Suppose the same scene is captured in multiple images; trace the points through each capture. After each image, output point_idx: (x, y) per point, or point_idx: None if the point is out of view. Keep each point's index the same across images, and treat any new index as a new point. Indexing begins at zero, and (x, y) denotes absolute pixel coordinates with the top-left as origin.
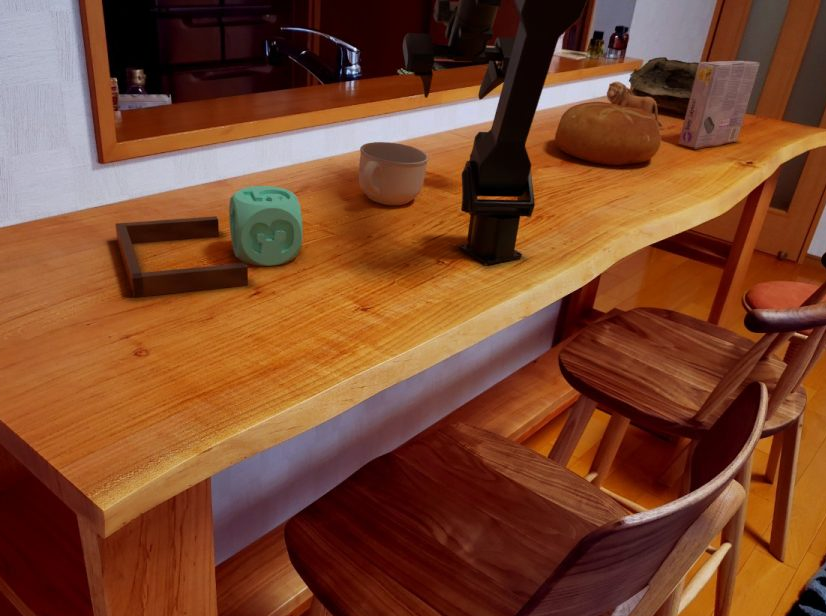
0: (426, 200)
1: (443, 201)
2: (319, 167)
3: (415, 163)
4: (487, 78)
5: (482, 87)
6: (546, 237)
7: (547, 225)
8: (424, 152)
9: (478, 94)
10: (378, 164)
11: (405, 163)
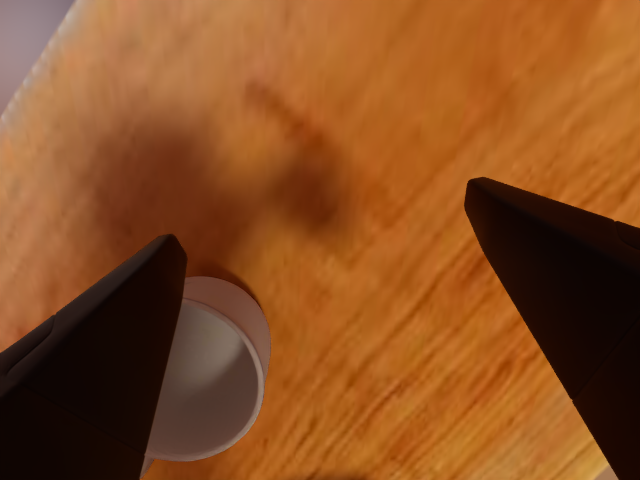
0: (288, 316)
1: (322, 315)
2: (45, 145)
3: (231, 445)
4: (571, 312)
5: (505, 241)
6: (492, 459)
7: (510, 405)
8: (252, 350)
9: (470, 183)
10: (146, 465)
11: (207, 456)
